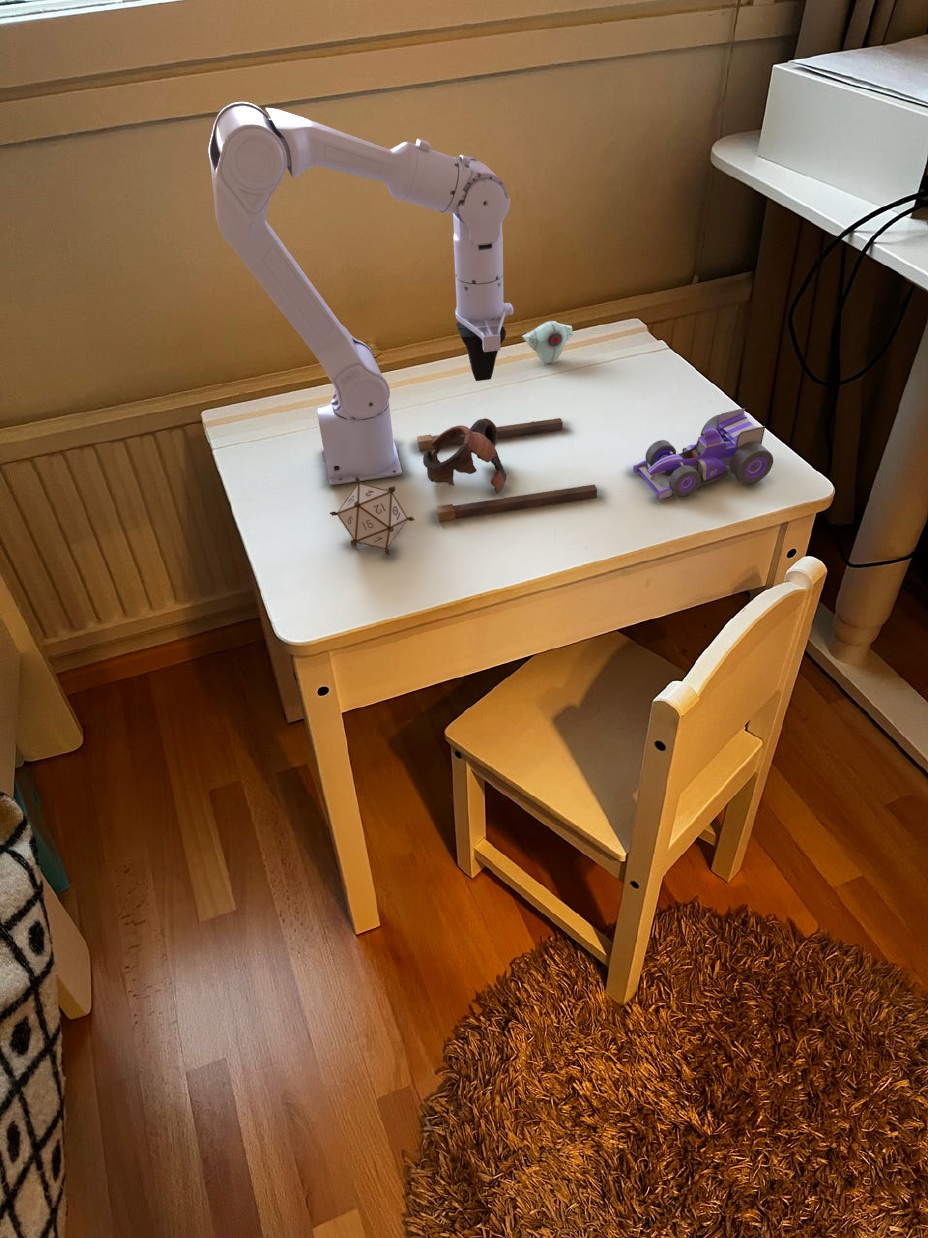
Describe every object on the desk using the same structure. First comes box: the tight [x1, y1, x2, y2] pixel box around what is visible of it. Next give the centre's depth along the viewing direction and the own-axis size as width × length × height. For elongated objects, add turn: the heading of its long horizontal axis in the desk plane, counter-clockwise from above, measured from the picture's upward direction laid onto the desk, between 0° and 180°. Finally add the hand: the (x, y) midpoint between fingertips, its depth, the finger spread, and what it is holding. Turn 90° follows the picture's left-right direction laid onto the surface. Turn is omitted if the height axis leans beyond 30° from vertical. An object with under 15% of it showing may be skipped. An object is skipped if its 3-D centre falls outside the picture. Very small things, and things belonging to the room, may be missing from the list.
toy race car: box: [632, 407, 774, 501], centre depth 114 cm, size 10×15×6 cm, turn 109°
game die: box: [329, 477, 416, 556], centre depth 106 cm, size 9×8×10 cm
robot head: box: [521, 320, 574, 364], centre depth 137 cm, size 8×4×7 cm, turn 109°
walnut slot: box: [416, 417, 598, 523], centre depth 118 cm, size 20×18×1 cm
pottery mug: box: [422, 418, 507, 494], centre depth 117 cm, size 12×10×8 cm
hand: (482, 377), depth 118 cm, fingers closed
